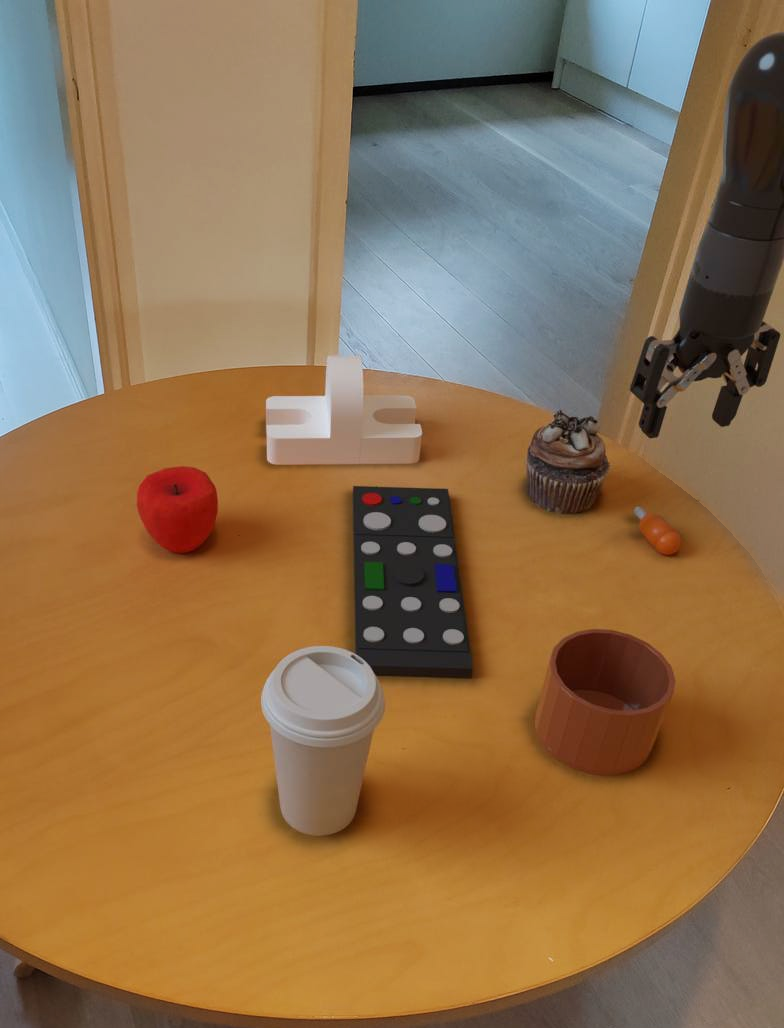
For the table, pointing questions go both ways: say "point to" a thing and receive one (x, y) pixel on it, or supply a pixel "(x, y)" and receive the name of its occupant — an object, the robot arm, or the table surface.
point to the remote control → (408, 584)
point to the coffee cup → (321, 734)
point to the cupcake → (566, 464)
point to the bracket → (342, 423)
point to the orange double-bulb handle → (658, 532)
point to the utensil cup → (603, 701)
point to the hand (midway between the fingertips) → (684, 428)
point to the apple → (178, 507)
